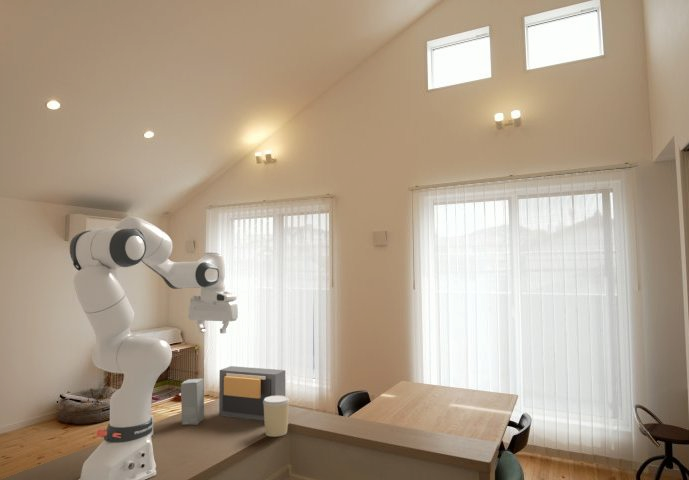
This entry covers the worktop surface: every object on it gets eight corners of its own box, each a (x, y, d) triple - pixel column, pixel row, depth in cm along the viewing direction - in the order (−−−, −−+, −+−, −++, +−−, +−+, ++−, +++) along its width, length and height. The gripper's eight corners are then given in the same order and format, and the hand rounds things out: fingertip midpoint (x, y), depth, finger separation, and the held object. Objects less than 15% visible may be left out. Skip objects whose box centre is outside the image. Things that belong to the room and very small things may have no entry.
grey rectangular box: (274, 422, 173) (274, 375, 174) (217, 415, 182) (218, 370, 183) (285, 415, 181) (285, 370, 182) (230, 409, 190) (231, 366, 192)
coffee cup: (285, 426, 168) (284, 394, 169) (292, 435, 160) (292, 400, 161) (260, 430, 165) (260, 397, 166) (266, 439, 156) (266, 403, 157)
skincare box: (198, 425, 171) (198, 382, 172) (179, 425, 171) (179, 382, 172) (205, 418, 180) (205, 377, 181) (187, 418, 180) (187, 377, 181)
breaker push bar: (258, 398, 172) (258, 379, 173) (223, 394, 178) (223, 376, 179) (262, 396, 175) (262, 378, 176) (228, 393, 181) (228, 375, 181)
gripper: (184, 296, 172) (184, 332, 171) (230, 296, 164) (230, 334, 163) (195, 295, 178) (195, 330, 177) (240, 295, 170) (240, 332, 169)
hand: (212, 332), depth 170 cm, fingers open, 8 cm apart
